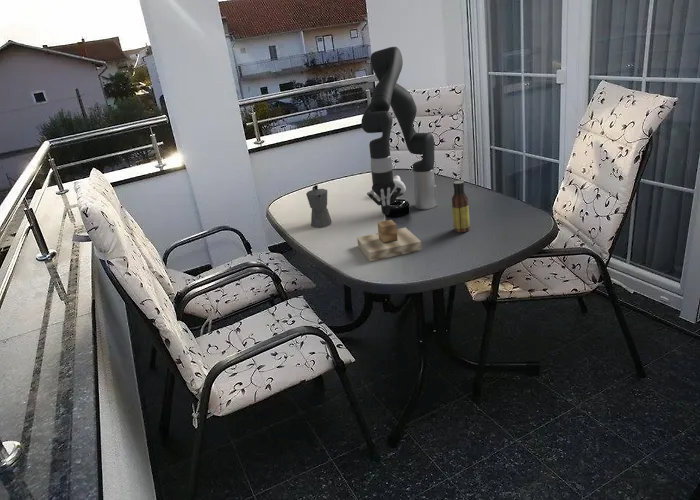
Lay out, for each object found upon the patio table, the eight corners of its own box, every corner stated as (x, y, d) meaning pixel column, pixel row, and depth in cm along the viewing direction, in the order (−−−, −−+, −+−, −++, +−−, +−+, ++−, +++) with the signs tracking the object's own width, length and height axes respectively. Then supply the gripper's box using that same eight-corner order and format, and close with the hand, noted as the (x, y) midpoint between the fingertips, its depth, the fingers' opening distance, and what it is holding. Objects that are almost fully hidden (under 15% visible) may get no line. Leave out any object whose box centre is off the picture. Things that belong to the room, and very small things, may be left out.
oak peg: (393, 242, 192) (391, 219, 189) (398, 247, 187) (396, 224, 184) (379, 245, 191) (377, 222, 188) (384, 250, 186) (381, 227, 183)
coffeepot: (334, 227, 217) (329, 187, 210) (313, 231, 215) (307, 191, 208) (328, 216, 231) (322, 178, 223) (308, 219, 229) (302, 182, 222)
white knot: (411, 192, 249) (409, 174, 246) (400, 199, 240) (398, 181, 237) (391, 190, 255) (389, 173, 252) (379, 198, 246) (377, 180, 243)
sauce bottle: (470, 227, 199) (469, 179, 191) (468, 233, 193) (467, 184, 186) (454, 227, 201) (452, 179, 193) (451, 233, 196) (450, 184, 188)
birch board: (406, 235, 199) (405, 227, 197) (421, 250, 184) (420, 241, 183) (358, 245, 195) (357, 237, 193) (369, 261, 180) (368, 252, 179)
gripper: (395, 163, 182) (399, 207, 189) (361, 169, 179) (366, 214, 186) (402, 167, 175) (406, 213, 182) (367, 174, 172) (372, 221, 180)
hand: (386, 214), depth 184 cm, fingers closed
